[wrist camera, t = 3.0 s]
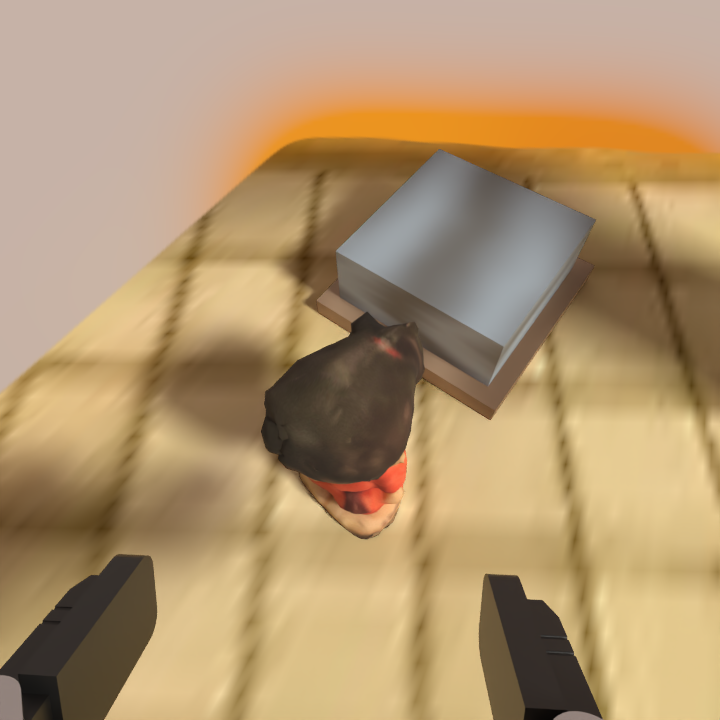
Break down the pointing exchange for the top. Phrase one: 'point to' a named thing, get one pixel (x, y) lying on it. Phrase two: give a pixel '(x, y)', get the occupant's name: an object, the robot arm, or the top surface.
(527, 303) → the pedestal
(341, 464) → the figurine
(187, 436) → the top surface
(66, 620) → the robot arm
